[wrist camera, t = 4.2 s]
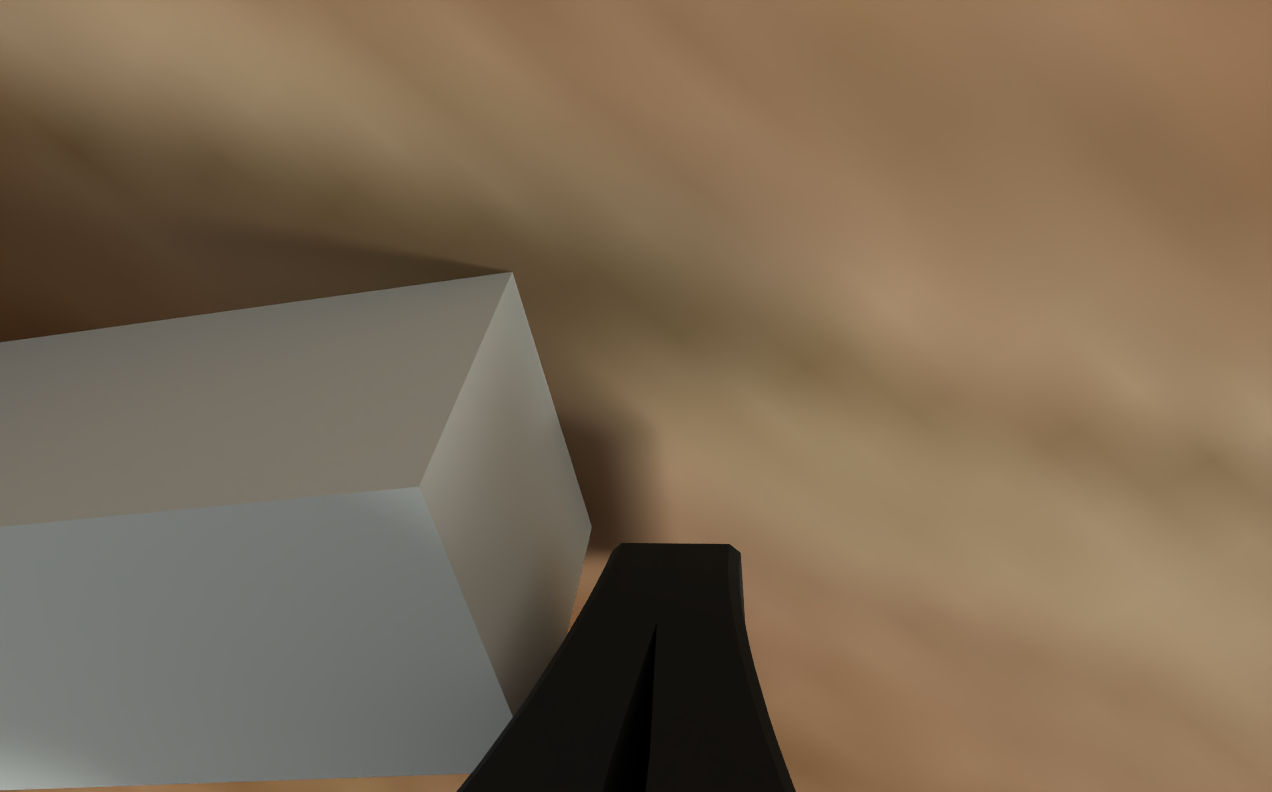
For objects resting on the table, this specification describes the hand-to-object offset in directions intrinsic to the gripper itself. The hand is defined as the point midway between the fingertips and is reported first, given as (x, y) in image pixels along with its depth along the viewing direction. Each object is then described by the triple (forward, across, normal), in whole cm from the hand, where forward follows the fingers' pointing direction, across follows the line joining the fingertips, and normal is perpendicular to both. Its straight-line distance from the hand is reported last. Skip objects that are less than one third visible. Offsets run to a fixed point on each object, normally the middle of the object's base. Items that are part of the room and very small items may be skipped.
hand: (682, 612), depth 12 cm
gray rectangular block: (+2, +7, -1) cm, 8 cm away
